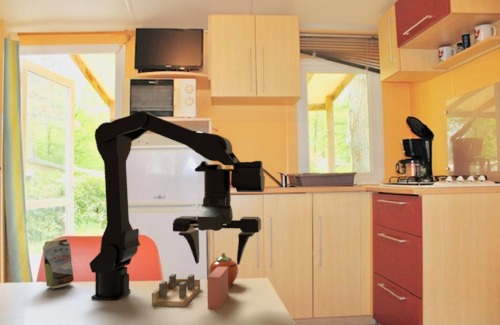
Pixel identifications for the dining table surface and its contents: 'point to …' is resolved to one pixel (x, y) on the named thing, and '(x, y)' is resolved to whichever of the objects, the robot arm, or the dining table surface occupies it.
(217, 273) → the pink rectangular block
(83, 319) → the dining table surface
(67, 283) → the printed carton
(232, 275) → the tomato
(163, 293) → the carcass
